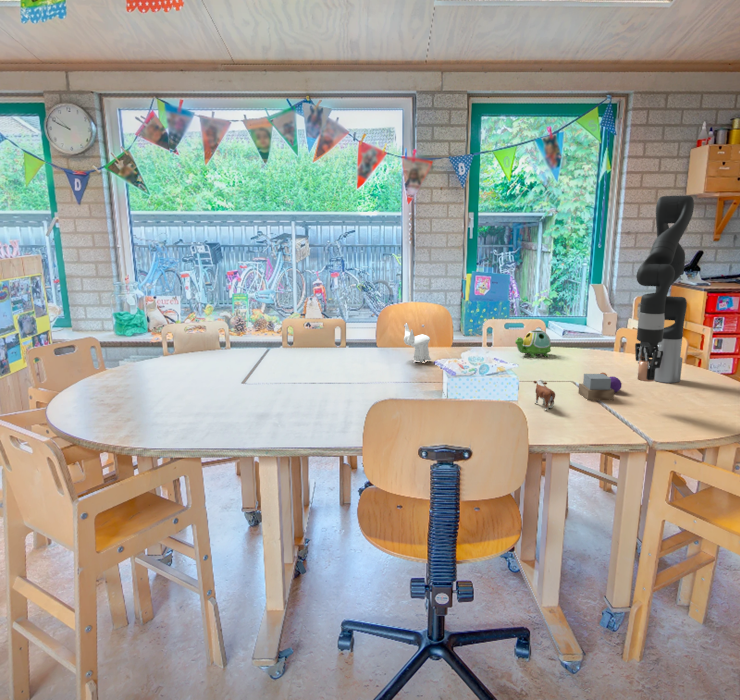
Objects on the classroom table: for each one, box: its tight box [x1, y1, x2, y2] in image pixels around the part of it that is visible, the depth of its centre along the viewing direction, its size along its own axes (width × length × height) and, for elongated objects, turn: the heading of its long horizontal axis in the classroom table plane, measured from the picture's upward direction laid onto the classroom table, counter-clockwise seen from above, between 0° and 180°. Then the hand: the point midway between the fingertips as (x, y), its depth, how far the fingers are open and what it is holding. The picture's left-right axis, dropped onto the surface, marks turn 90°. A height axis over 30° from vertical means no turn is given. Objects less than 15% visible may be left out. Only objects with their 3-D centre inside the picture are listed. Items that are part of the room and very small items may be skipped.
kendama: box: [599, 372, 622, 393], centre depth 208 cm, size 6×6×20 cm
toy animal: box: [403, 322, 432, 363], centre depth 252 cm, size 20×12×17 cm, turn 3°
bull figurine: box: [533, 378, 556, 411], centre depth 184 cm, size 4×13×8 cm, turn 2°
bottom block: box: [577, 383, 615, 402], centre depth 195 cm, size 9×9×4 cm
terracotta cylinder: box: [636, 360, 655, 382], centre depth 179 cm, size 5×5×6 cm
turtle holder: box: [515, 329, 552, 358], centre depth 262 cm, size 12×18×12 cm
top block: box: [582, 373, 611, 390], centre depth 194 cm, size 7×7×4 cm
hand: (646, 377), depth 179 cm, fingers closed on terracotta cylinder, 5 cm apart
